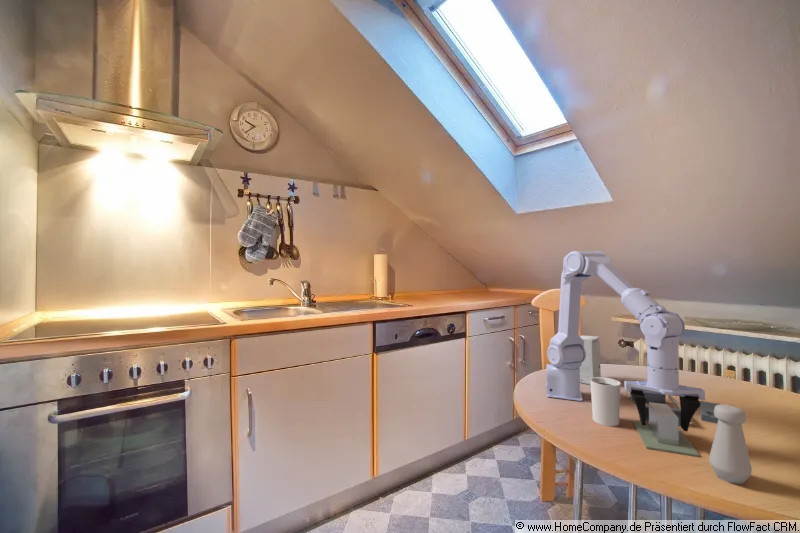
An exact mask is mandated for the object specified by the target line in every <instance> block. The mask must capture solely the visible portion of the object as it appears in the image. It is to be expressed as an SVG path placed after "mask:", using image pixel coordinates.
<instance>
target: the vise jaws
mask: <svg viewBox="0 0 800 533" xmlns="http://www.w3.org/2000/svg"><path fill="white" fill-rule="evenodd" d="M643 393H644V397H645V398H646V406H645V416H646V422H649V402H652V403H660V404H667V403H666V402H667V401H666V400H667V398H668V399H669V400H670V402H672V404H673V405H674V407H670V406H669V407H670V408H671V410H672V411H673V412H674V413H675V414H676V416H677V417H678V427H679V426H680V427H681V423H680V420H681V406H680V402H678V401H677V400H676V399H675V398H674V396H672V395H663V394H654V393H645V392H643ZM629 395H630V396H629V397H630V401H631V402H634V399H633V397H632V395H631V393H630V392H629ZM666 396H667V398H666ZM693 420H694V418H692V419H691V421H690V423H692V422H693Z"/></svg>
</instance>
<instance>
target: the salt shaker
mask: <svg viewBox="0 0 800 533" xmlns="http://www.w3.org/2000/svg"><path fill="white" fill-rule="evenodd" d="M714 415H715V417H716V418H717V419H718V423H716V428H715V432H714V437H713V440H712V445H711V448H710V453H709V457H708V462H709V464H710V467H711V468H712V469H713V471H714V473H715V475H716V476H717V478H718V479H720V480H723V481H725V482H727V483H730V484H735V485H741V484H742V485H743V484H745V483H746V482H747V480H748V479H749V478H750V477H751V475H752V464H751V459H750V455H749V452H748V447H747V443H746V442H747V441H746V438H745V433H744V430H743V429H744V428H743V424H745V423H746V421H747V420H746V418H747V415H746V412H745V411H744V410H743V409H741V408H739V407H738V406H734V405H730V404H720V405H717V406H715V408H714Z"/></svg>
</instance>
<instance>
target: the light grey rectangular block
mask: <svg viewBox="0 0 800 533" xmlns="http://www.w3.org/2000/svg"><path fill="white" fill-rule="evenodd" d="M648 405H649V421H648V424H649V428H650V430H651V431H652V433H653V435H654V436H655V438H656V440H657V441H658V443H662V444H669V445H675V446H679V429H680V428H679V425H678V417H677V416H676V414H675V413H674V412H673V411H672V410H671V408H670V406H669V404H667V403H666V404H660V403H652V402H649V403H648Z"/></svg>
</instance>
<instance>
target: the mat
mask: <svg viewBox="0 0 800 533" xmlns="http://www.w3.org/2000/svg"><path fill="white" fill-rule="evenodd" d="M633 424H634V427H635V429H636V430H637V433H638V434H639V436H640V438H641V440H642V442H643V444H644V446H645V448H646V449H647V450H653V451H660V452H667V453H673V454H678V455H684V456H685V455H686V456H689V457H690V456H691V457H697V458H700V454H699V453H698V451H697V450H696V448H694V447H693V445H692V444H691V442H690V441H689V440H688V439H687V436H685V435H684V433H683V432H682V430H681V429H680V428H679V446H675V445H669V444H662V443H658V441H657V440H656V438H655V436H654V435H653V433H652V431H651V430H650V428H649V423H648V422H646V426H644V425H642V424H641V422H640V421H638V422H637V421H633Z"/></svg>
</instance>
